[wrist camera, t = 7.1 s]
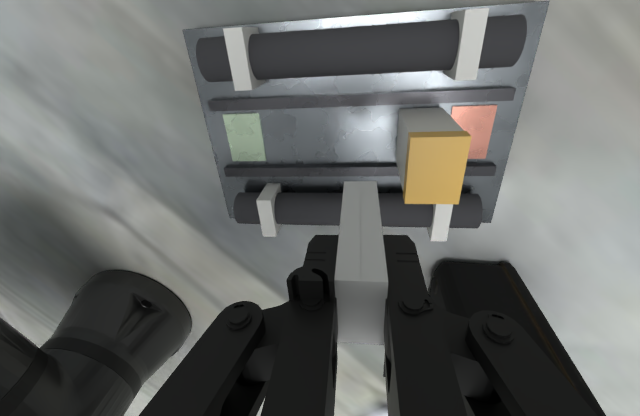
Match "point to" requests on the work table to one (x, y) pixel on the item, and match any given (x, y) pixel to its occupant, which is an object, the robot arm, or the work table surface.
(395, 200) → the pair of dark rods
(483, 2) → the work table surface
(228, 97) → the panel
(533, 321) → the voltmeter
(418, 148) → the yellow and grey block
